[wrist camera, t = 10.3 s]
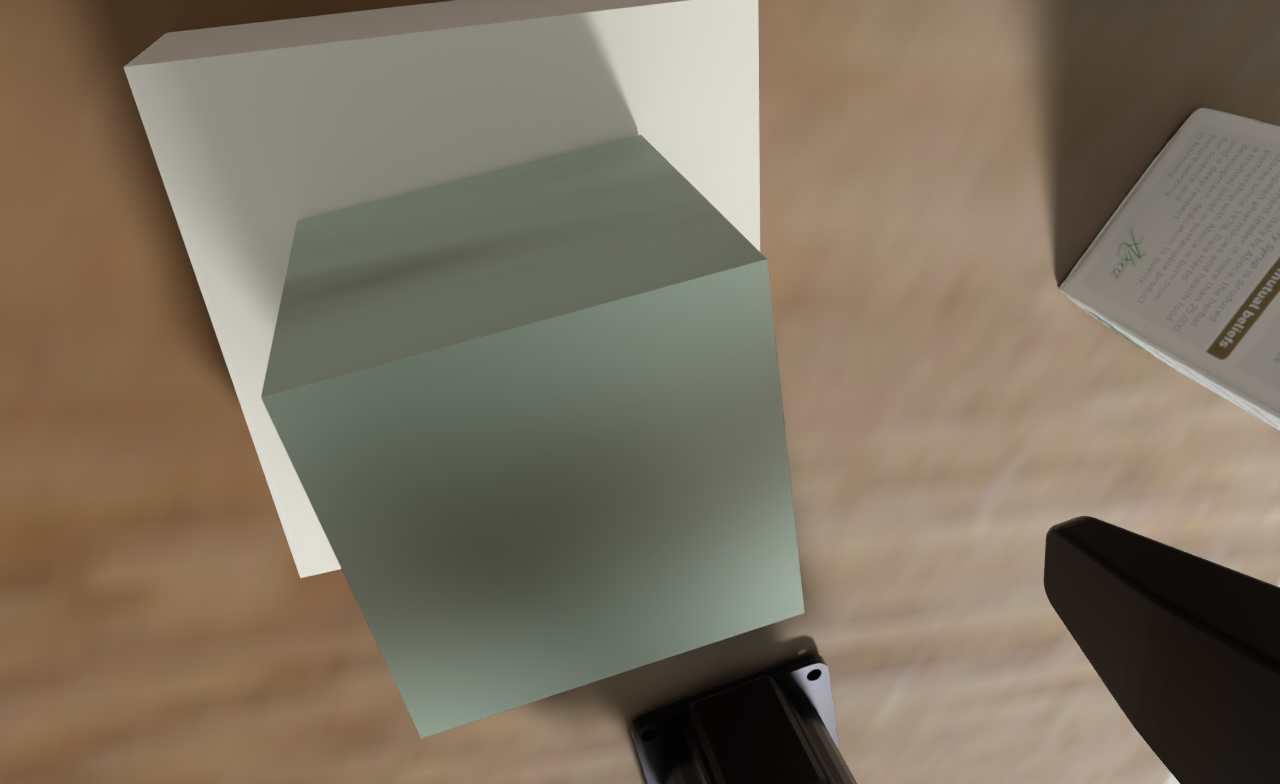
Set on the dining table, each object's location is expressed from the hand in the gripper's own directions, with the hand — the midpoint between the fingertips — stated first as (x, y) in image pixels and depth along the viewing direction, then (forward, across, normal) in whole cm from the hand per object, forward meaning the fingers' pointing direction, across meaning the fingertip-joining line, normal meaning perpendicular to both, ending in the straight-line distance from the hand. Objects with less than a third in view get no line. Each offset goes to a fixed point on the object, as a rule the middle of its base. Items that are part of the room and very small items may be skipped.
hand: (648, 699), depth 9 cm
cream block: (+13, 0, 0) cm, 13 cm away
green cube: (+9, 0, 0) cm, 9 cm away
